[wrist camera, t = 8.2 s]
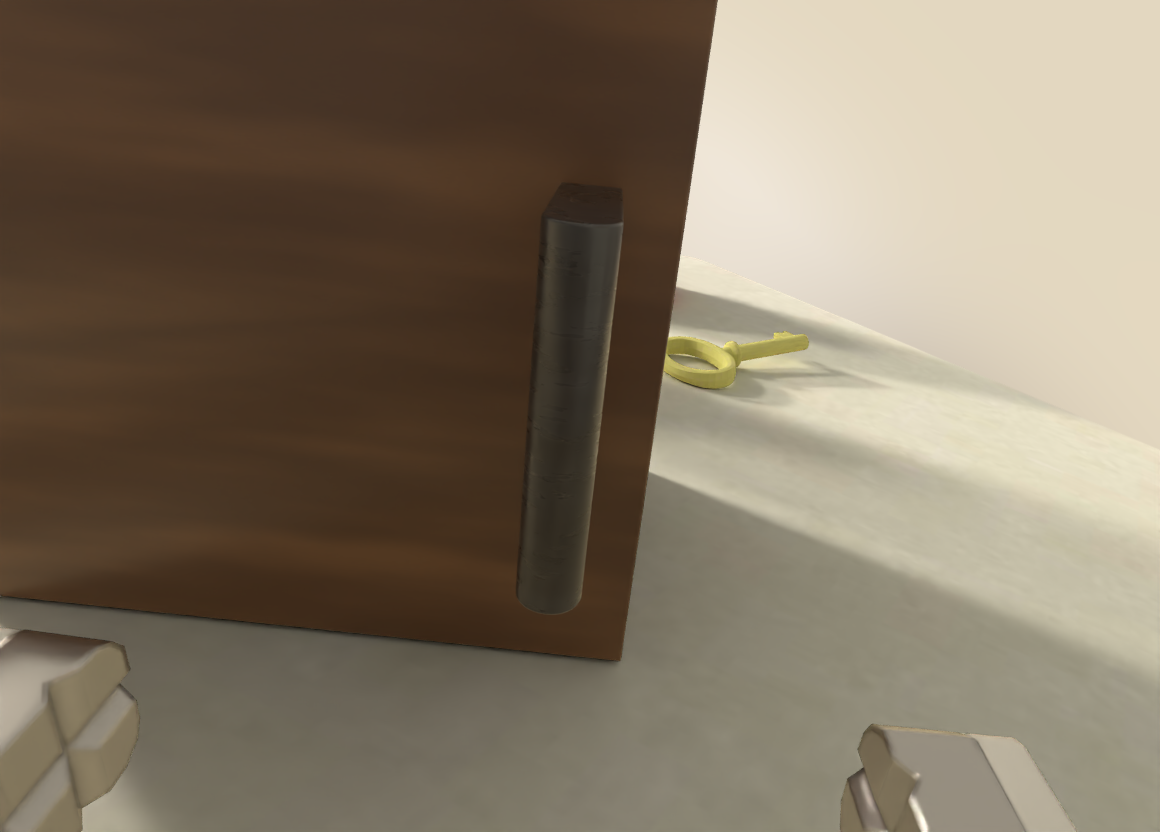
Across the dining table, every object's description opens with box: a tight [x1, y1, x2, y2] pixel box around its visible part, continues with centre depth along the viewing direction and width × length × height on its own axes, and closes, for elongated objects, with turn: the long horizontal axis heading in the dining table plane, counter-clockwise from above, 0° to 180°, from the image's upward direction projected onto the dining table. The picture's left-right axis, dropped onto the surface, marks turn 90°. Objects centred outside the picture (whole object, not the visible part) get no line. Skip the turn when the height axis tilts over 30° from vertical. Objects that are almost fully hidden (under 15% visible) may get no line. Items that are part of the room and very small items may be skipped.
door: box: [0, 0, 718, 661], centre depth 19 cm, size 7×22×22 cm, turn 87°
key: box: [663, 331, 809, 388], centre depth 55 cm, size 7×12×2 cm, turn 132°
